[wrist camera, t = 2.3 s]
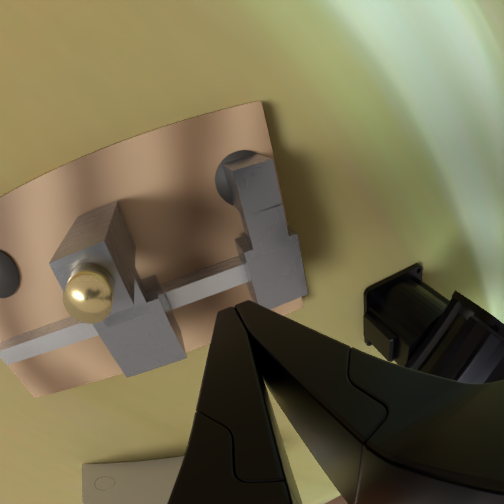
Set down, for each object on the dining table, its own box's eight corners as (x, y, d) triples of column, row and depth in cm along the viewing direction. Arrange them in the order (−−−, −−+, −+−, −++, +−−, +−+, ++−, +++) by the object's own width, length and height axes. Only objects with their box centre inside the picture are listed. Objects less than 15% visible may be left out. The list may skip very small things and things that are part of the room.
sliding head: (128, 196, 16) (116, 248, 10) (178, 319, 20) (199, 406, 13) (68, 220, 15) (27, 284, 9) (126, 337, 19) (129, 427, 13)
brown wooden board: (254, 101, 17) (262, 100, 16) (296, 298, 24) (304, 308, 22) (-58, 232, 13) (-68, 240, 12) (37, 387, 20) (34, 399, 19)
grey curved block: (95, 483, 27) (89, 544, 17) (82, 455, 26) (69, 516, 17) (233, 467, 31) (260, 526, 22) (228, 438, 31) (256, 498, 21)
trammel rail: (263, 150, 17) (282, 156, 15) (290, 274, 21) (307, 294, 19) (-40, 272, 14) (-58, 291, 12) (21, 368, 18) (13, 393, 15)
